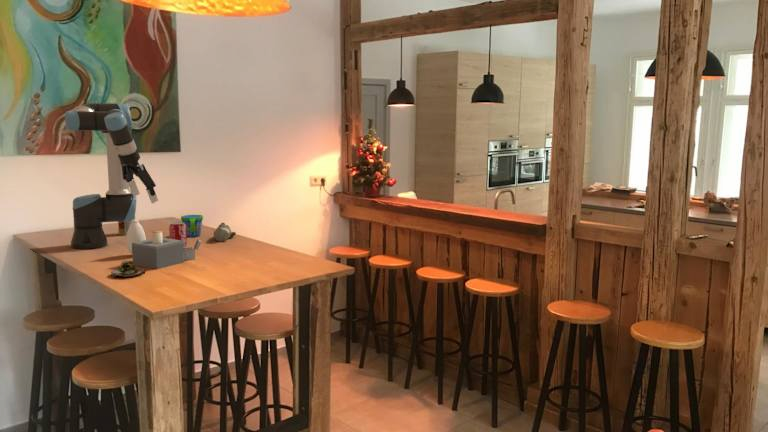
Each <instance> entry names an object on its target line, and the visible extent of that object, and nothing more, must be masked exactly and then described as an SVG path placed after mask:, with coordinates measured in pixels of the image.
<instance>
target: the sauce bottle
mask: <svg viewBox="0 0 768 432" xmlns="http://www.w3.org/2000/svg"><path fill="white" fill-rule="evenodd" d="M125 236H126V237H125V244H126V248H127V250H128V252H129V253H130V254H132V243H133V242H138V241H143V240H147V238H146V233H145V230H144V228H143V226H142V225H141V223H140V222H139V220H138V219H136V214H135V215H134V220H132V223H131V224H130V226H129V228H128V231H127V235H125Z"/></svg>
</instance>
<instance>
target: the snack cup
mask: <svg viewBox="0 0 768 432" xmlns="http://www.w3.org/2000/svg"><path fill="white" fill-rule="evenodd" d="M180 220H181V222H185V225H186V237H187V238H196V237H200V236H201V233H202V225H203V220H204V216H203V215H201V214H187V215H181V216H180Z"/></svg>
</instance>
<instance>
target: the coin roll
mask: <svg viewBox="0 0 768 432" xmlns="http://www.w3.org/2000/svg"><path fill="white" fill-rule="evenodd" d="M163 238H164V237H163V231H162V230H154V231H152V232H151V239H152V244H160V243H163Z"/></svg>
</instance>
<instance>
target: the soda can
mask: <svg viewBox="0 0 768 432" xmlns="http://www.w3.org/2000/svg"><path fill="white" fill-rule="evenodd" d="M168 229H169V230H168V231H169V232H168V233H169V234H168V235H169V239H175V240H182V241H183V244H184V250H186V248H187V247H188V242H187V241H188V240H187V239H188V237H186V225H185V222H182V221H172V222H170V223H169V227H168Z"/></svg>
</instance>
